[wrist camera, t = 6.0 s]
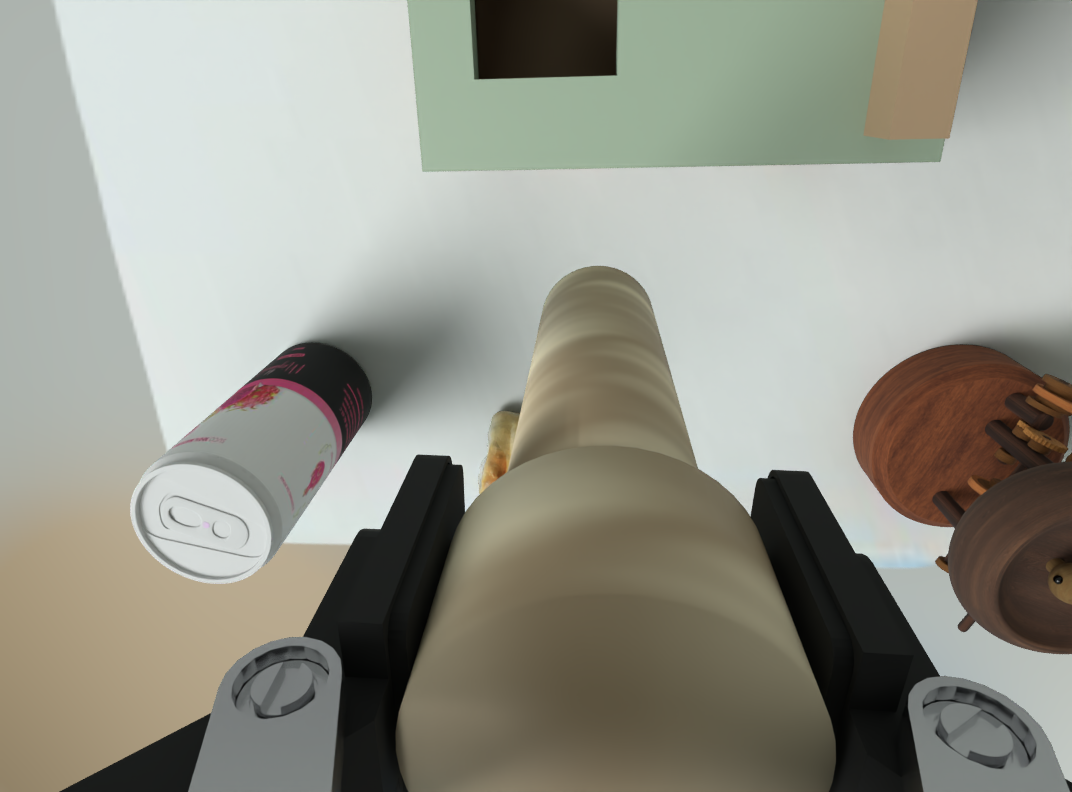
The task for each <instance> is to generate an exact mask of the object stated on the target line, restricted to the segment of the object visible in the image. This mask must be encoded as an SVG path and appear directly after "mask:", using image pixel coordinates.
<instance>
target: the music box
mask: <svg viewBox="0 0 1072 792" xmlns="http://www.w3.org/2000/svg"><path fill="white" fill-rule="evenodd" d="M1071 415H1072V384H1070V383H1068V382H1066V381H1064V380H1061V379H1059V378H1057V377H1054V376H1052V375H1049V374H1045V375H1044V376H1043V378H1041V377H1040V376H1038V375H1037V374H1035V373H1033V372H1032V371H1030V370H1029V369H1027V368H1025V367H1024V366H1022V365H1021V364H1019V363H1018V362H1016V361H1014V360H1013V359H1011V358H1010V357H1008V356H1006V355H1005V354H1003V353H1001V352H998V351H996V350H993V349H990V348H986V347H982V346H976V345H949V346H943V347H938V348H934V349H930V350H927V351H924V352H922V353H919V354H917V355H914V356H912V357H910V358H908V359H906V360H905V361H903V362H901V363H900V364H898V365H897V366H895V367H894V368H892V369H891V370H890V371H888V372H887V373H886V374H885V375H884V376H883V377H882V378H881V379H880V380H879V381H878V382H877V383H876V384H875V385H874V386H873V387H872V389H871V390H870V391H869V393H868V394H867V396H866V397H865V399H864V400H863V402H862V404H861V406H860V408H859V411H858V413H857V416H856V420H855V424H854V431H853V444H854V450H855V454H856V457H857V460H858V462H859V464H860V466H861V468H862V469H863V471H864V472H865V473H866V475H867V476H868V477H869V479H870V480H871V482H872V483H873V484H874V486H875V487H876V488H877V490H878V491H879V493H880V494H881V495H882V497H883V498H884V499H885V501H886V502H887V503H888V504H889V505H890V506H891V507H892V508H893V509H895V510H896V511H897V512H899V513H900V514H902V515H904V516H905V517H907V518H909V519H912V520H914V521H917V522H920V523H923V524H927V525H932V526H940V527H954V528H955V530H954V533H953V535H952V538H951V542H950V546H949V552H948V554H947V556H946V557H942V556H939V557H938V558H937V560H936V561H935V562H936V564H937V565H938V566H939V567H940V568H941V569H942V570H944V571H946V572H947V573H949V576H950V581H951V584H952V587H953V589H954V592H955V594H956V596H957V598H958V600H959V602H960V603H961V605H962V606H963V607H964V609H965V610H966V612H967V613H968V614H967V615H966V616H965V617H964V619H962V621H961V622H960V623H959V624H958V629H959V630H960V631H962V632H966V631H967V630H968V629H969V628H970V627H971V626H972V625H973V623H974V622H975V621H976V622H977V623H978V624H979V625H980V626H982V627H983V628H984V629H985V630H987V631H988V632H990V633H991V634H993V635H995V636H996V637H998V638H1000V639H1002V640H1004V641H1006V642H1008V643H1010V644H1013V645H1015V646H1018V647H1021V648H1025V649H1028V650H1032V651H1037V652H1043V653H1052V654H1072V453H1071V454H1070V455H1069V456H1068V457H1067V459H1066V461H1065V462H1061V461H1062V459H1063V457H1064V454H1065V453H1066V451H1067V450H1068V448H1067V445H1068V440H1069V418H1068V416H1071Z"/></svg>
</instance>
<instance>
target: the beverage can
mask: <svg viewBox="0 0 1072 792" xmlns="http://www.w3.org/2000/svg"><path fill="white" fill-rule="evenodd" d="M371 402H372V393H371V387H370V384H369V381H368V379H367V376H366V374H365V373H364V371H363V370H362V368H361V367H360V366H359V364H358V363H357V362H356V361H355V360H354V359H353V358H352V357H350V356H349V355H348V354H346V353H345V352H343V351H342V350H340V349H338V348H335V347H333V346H330V345H327V344H322V343H302V344H298V345H295V346H292V347H290V348H288V349H287V350H285V351H284V352H283V353H281V354H280V355H279V356H278V357H277V358H276V359H274V360H273V361H272V362H271V363H270V364H269V365H267V366H266V367H265V368H264V369H263V370H262V371H260V372H259V373H258V374H257V375H256V376H255V377H253V378H252V379H251V380H250V381H249V382H248V383H246V384H245V385H244V386H243V387H242V388H241V389H240V390H238V391H237V392H236V393H235V394H234V395H233V396H231V397H230V398H229V399H228V400H227V401H226V402H224V403H223V404H222V405H221V406H220V407H219V408H217V409H216V410H215V411H214V412H213V413H212V414H210V415H209V416H208V417H207V418H206V419H205V420H203V421H202V422H201V423H200V424H199V425H198V426H196V427H195V428H194V429H193V430H192V431H191V432H189V433H188V434H187V435H186V436H185V437H184V438H183V439H181V440H180V441H179V442H178V443H177V444H176V445H174V446H173V447H172V448H171V449H170V450H169V451H167V452H166V453H165V454H164V455H163V456H162V457H160V458H159V459H158V460H157V461H156V462H155V463H153V464H152V465H151V466H150V467H149V468H148V469H147V470H146V472H145V473H144V474H143V476H142V478H141V480H140V482H139V484H138V485H137V487H136V488H135V490H134V492H133V495H132V498H131V505H130V513H131V520H132V524H133V527H134V530H135V532H136V534H137V536H138V538H139V540H140V541H141V543H142V544H143V545H144V547H145V548H146V549H147V551H148V552H149V553H150V554H151V555H152V556H153V557H154V558H155V559H156V560H158V561H159V562H160V563H161V564H163V565H164V566H165V567H167V568H168V569H170V570H172V571H173V572H175V573H178V574H179V575H181V576H184V577H186V578H189V579H192V580H195V581H199V582H205V583H213V584H214V583H215V584H223V583H232V582H236V581H239V580H242V579H245V578H247V577H249V576H250V575H252V574H254V573H255V572H256V571H257V570H259V569H260V568H261V567H262V566H264V565H265V564H267V562H269V561H270V560H271V559H272V558H273V556H274V555H275V554H276V552H277V551H278V549H279V548H280V546H281V545H282V543H283V542H284V540H285V539H286V537H287V536H288V534H289V533H290V531H291V530H292V528H293V527H294V525H295V524H296V522H297V521H298V519H299V518H300V516H301V515H302V514H303V512H304V511H305V509H306V508H307V506H308V505H309V503H310V502H311V500H312V499H313V497H314V496H315V494H316V493H317V491H318V490H319V488H320V487H321V485H322V484H323V482H324V481H325V479H326V478H327V476H328V475H329V473H330V472H331V470H332V469H333V467H334V466H335V464H336V463H337V461H338V460H339V459H340V457H341V456H342V454H343V453H344V451H345V450H346V448H347V447H348V445H349V444H350V442H351V441H352V439H353V438H354V436H355V435H356V433H357V432H358V430H359V429H360V427H361V426H362V424H363V423H364V421H365V420H366V418H367V416H368V414H369V412H370V408H371Z"/></svg>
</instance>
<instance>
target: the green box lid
mask: <svg viewBox="0 0 1072 792" xmlns="http://www.w3.org/2000/svg"><path fill="white" fill-rule="evenodd" d="M407 2H408V13H409V24H410V36H411V47H412V58H413V70H414V81H415V92H416V104H417V115H418V126H419V137H420V149H421V160H422V171H423V172H435V171H487V170H540V169H592V168H644V167H696V166H749V165H801V164H853V163H905V162H940V161H941V156H942V151H943V146H944V141H945V138H949V137H950V132H951V127H952V122H953V118H954V113H955V108H956V103H957V98H958V93H959V89H960V84H961V79H962V74H963V69H964V65H965V60H966V55H967V50H968V45H969V40H970V36H971V31H972V26H973V21H974V16H975V11H976V7H977V2H978V0H618V1H617V50H616V76H582V77H548V78H513V79H479V76H478V57H477V39H476V20H475V1H474V0H407Z"/></svg>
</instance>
